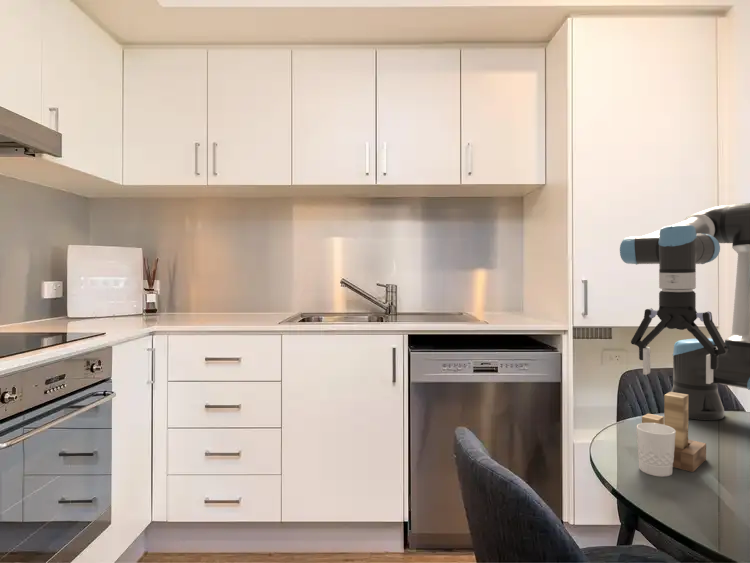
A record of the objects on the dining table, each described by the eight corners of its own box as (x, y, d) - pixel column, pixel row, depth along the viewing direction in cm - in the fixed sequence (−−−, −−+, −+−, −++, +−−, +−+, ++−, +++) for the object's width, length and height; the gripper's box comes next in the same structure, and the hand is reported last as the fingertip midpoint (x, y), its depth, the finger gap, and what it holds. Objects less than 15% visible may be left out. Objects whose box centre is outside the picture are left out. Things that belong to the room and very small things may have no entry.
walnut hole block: (661, 448, 130) (661, 433, 129) (706, 459, 122) (706, 443, 122) (646, 459, 123) (646, 443, 123) (692, 472, 115) (693, 455, 115)
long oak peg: (669, 455, 125) (670, 391, 125) (688, 459, 122) (688, 394, 122) (664, 459, 123) (664, 394, 122) (682, 464, 120) (683, 398, 119)
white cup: (670, 465, 119) (670, 423, 119) (679, 479, 112) (680, 435, 111) (633, 462, 122) (633, 421, 121) (640, 476, 114) (640, 432, 114)
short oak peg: (647, 438, 137) (647, 413, 136) (663, 442, 134) (663, 416, 133) (641, 442, 134) (641, 416, 134) (658, 446, 131) (658, 420, 131)
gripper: (616, 289, 127) (617, 372, 128) (735, 293, 109) (734, 390, 110) (628, 287, 132) (629, 367, 133) (744, 290, 114) (743, 383, 115)
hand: (676, 378), depth 122 cm, fingers open, 13 cm apart
